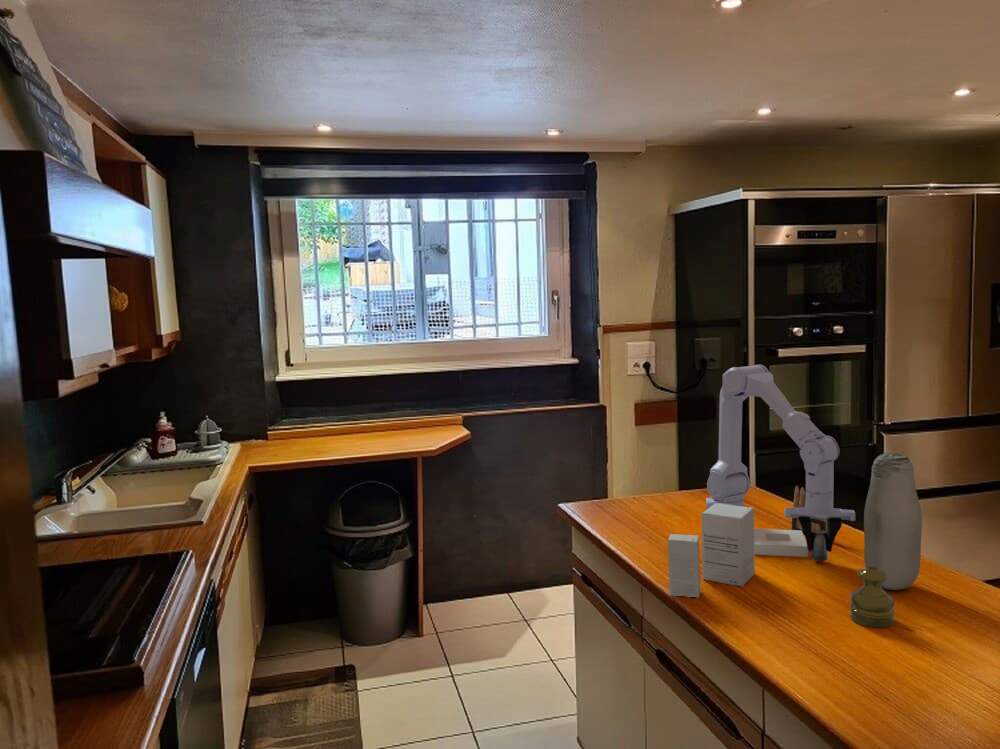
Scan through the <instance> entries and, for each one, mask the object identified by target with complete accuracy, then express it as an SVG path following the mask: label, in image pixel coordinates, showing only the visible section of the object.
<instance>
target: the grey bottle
mask: <svg viewBox="0 0 1000 749" xmlns="http://www.w3.org/2000/svg"><path fill="white" fill-rule="evenodd" d="M863 510H864V511H863V536H864V537H863V538H864V539H863V540H864V541H863V542H864V544H863V545H864V547H863V548H864V550H863V552H864V554H863V556H864V559H863V560H864V566H865V567H864V568H867V567H876V568H877V569H879V570H881V571H883V572H885V573H886V574H887V579H886V580H885V581H883V582H882V583H881V584H880V586H881V588H882V589H883V590H889V591H890V590H891V591H899V590H905V589H907V588H909V587H911V586H912V585H914V583H915V582H916V580H917V579H918V576H919V573H920V569H921V554H922V552H921V550H922V549H921V548H922V528H923V526H922V525H923V523H922V522H923V519H922V518H923V516H922V508H921V503H920V499H919V496H918V493H917V488H916V482H915V471H914V465H913V463H912V461H911V460H910V458H909V457H908V456H906V455H904V454H902V453H898V452H885V453H882V454H880V455H878V456H877V457H875V459H874V461H873V463H872V466H871V477H870V483H869V487H868V492H867V495H866V500H865V505H864V509H863Z"/></svg>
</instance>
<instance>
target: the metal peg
mask: <svg viewBox="0 0 1000 749" xmlns="http://www.w3.org/2000/svg"><path fill="white" fill-rule="evenodd" d="M811 542H812V551H810V559H811V560H814V561H817V562H825V561H827V560H828V559H829V554H828V553H829V552H828V532H826V531H823V530H812V531H811Z"/></svg>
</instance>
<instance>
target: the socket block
mask: <svg viewBox="0 0 1000 749" xmlns="http://www.w3.org/2000/svg"><path fill="white" fill-rule="evenodd" d="M754 550H755V555H757V556H758V555H759V556H775V557H776V556H779V557H798V558H799V557H800V558H808V557H809V551H808V549H807V542H806V538H805V535H803V533H802V530H792V529H773V528H754Z"/></svg>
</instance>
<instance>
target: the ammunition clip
mask: <svg viewBox="0 0 1000 749" xmlns="http://www.w3.org/2000/svg"><path fill="white" fill-rule="evenodd" d="M799 489H800V490H799ZM793 494H794V495H793V496H794V497H793V506H792V508H797V507H806V491H805V489H804V487H803V486H802V487H801V488H799V486H798V485H796V486H795V489H794V493H793ZM810 520H811V524H812V529H811V531H812V530H823V531H826V532H827V519H813V518H810ZM791 530H802V533H803V534H804V531H803V529H802V527H801V524H800V522H799V520H798V518H791ZM804 536H805V534H804Z"/></svg>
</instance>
